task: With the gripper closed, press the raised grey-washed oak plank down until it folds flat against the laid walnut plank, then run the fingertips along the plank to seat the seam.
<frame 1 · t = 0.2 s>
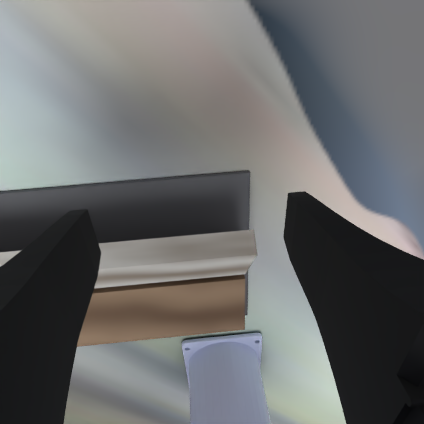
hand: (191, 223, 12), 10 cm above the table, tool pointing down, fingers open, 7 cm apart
laid plank: (116, 301, 28), resting on underlay mat
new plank: (85, 270, 22), point 3 cm above the table, hinge at 35.0°
underlay mat: (104, 266, 26), on the table
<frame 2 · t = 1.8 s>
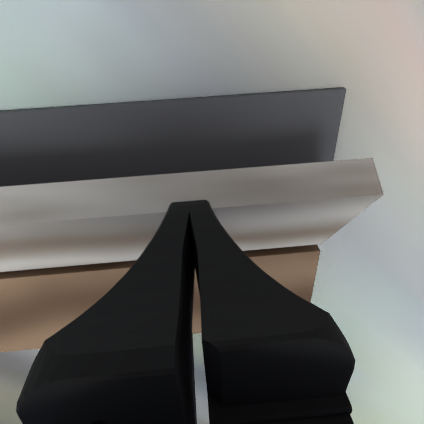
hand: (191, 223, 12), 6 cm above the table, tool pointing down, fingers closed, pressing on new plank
laid plank: (139, 284, 21), resting on underlay mat
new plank: (105, 229, 15), point 3 cm above the table, hinge at 35.0°, touching gripper
underlay mat: (126, 234, 19), on the table
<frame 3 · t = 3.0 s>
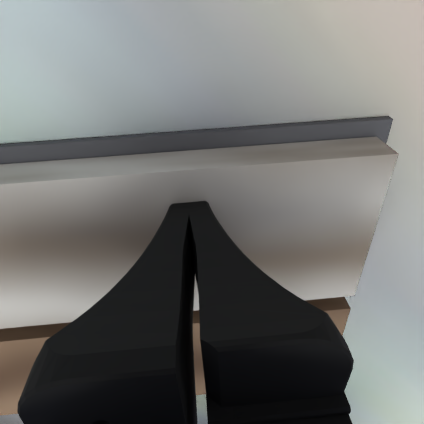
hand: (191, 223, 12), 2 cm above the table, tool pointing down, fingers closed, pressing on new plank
laid plank: (132, 338, 18), resting on underlay mat
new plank: (93, 247, 13), point 1 cm above the table, hinge at 0.6°, touching gripper
underlay mat: (116, 286, 16), on the table
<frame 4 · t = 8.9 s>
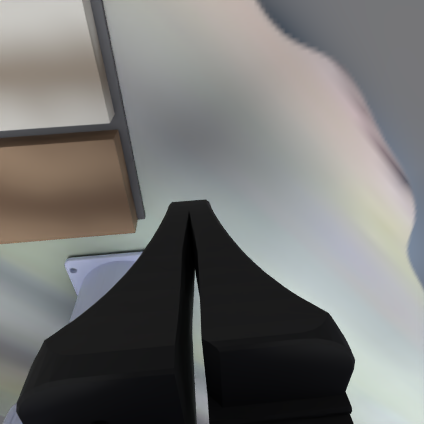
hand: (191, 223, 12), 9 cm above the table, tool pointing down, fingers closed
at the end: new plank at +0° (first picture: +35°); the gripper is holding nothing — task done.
